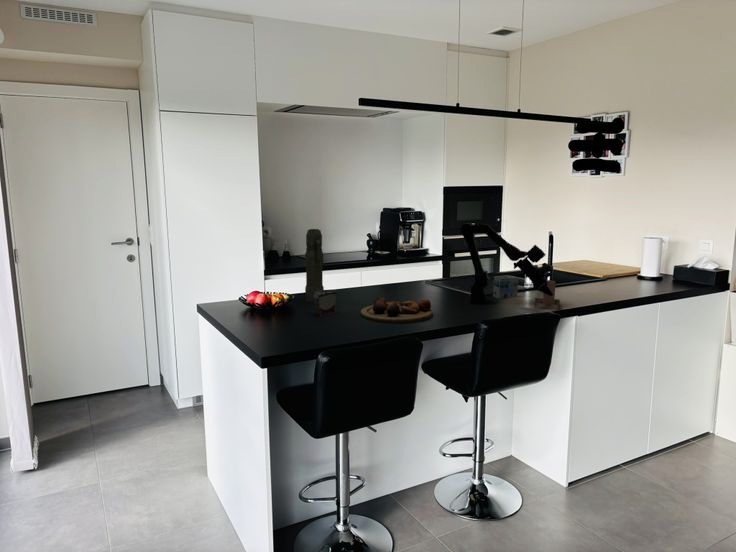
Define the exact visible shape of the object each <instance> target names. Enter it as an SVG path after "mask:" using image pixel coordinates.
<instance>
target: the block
mask: <svg viewBox="0 0 736 552" xmlns="http://www.w3.org/2000/svg"><path fill="white" fill-rule="evenodd" d="M547 286H548V288H549V289H550V291H551V292H552V294H553V295H552V296H549V295H547V294H545V293H543V292H542V293H543V294H542V298H543V304H550V305H554V299H556V298H555V296H556V280H552V279H551V280H549V279H547Z"/></svg>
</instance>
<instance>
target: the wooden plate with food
mask: <svg viewBox="0 0 736 552" xmlns="http://www.w3.org/2000/svg"><path fill="white" fill-rule="evenodd" d="M373 302H374V303H373V305H369V306H365V307H363V308H362V309H361V310H360V314H359V315H360V316H361V317H362V318H363V319H366V320H368V321H373V322H377V323H388V324H407V323H409V324H410V323H417V322H422V321H425V320H428V319H430V318H432V316H433V314H434V311H433V310H432V309H431V307H432V304H431V301H430V300H429V299H422V300H420V301H419V302H418V303H417V302H416V301H414V300H408V301H407V300H406V301H404V302H403V301H395V300H392V299H390V300H388V301H387V302H386V298H384V297H383V296H380V297H376V300H374V301H373Z"/></svg>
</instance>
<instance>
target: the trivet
mask: <svg viewBox="0 0 736 552" xmlns="http://www.w3.org/2000/svg"><path fill="white" fill-rule="evenodd" d="M513 311H514V312H515V313H519V314H526V313H534V314H537V313H536V312H538V313H539V309H535V308H532V307H514V308H513Z"/></svg>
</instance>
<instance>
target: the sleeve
mask: <svg viewBox="0 0 736 552" xmlns="http://www.w3.org/2000/svg"><path fill="white" fill-rule="evenodd" d="M534 309H536V310H547V311H549V310H550V311H561V300H560V299H559V298H558V299H557V298H554V305H550V304H543V297H541V298H540V297H535V298H534Z"/></svg>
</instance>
